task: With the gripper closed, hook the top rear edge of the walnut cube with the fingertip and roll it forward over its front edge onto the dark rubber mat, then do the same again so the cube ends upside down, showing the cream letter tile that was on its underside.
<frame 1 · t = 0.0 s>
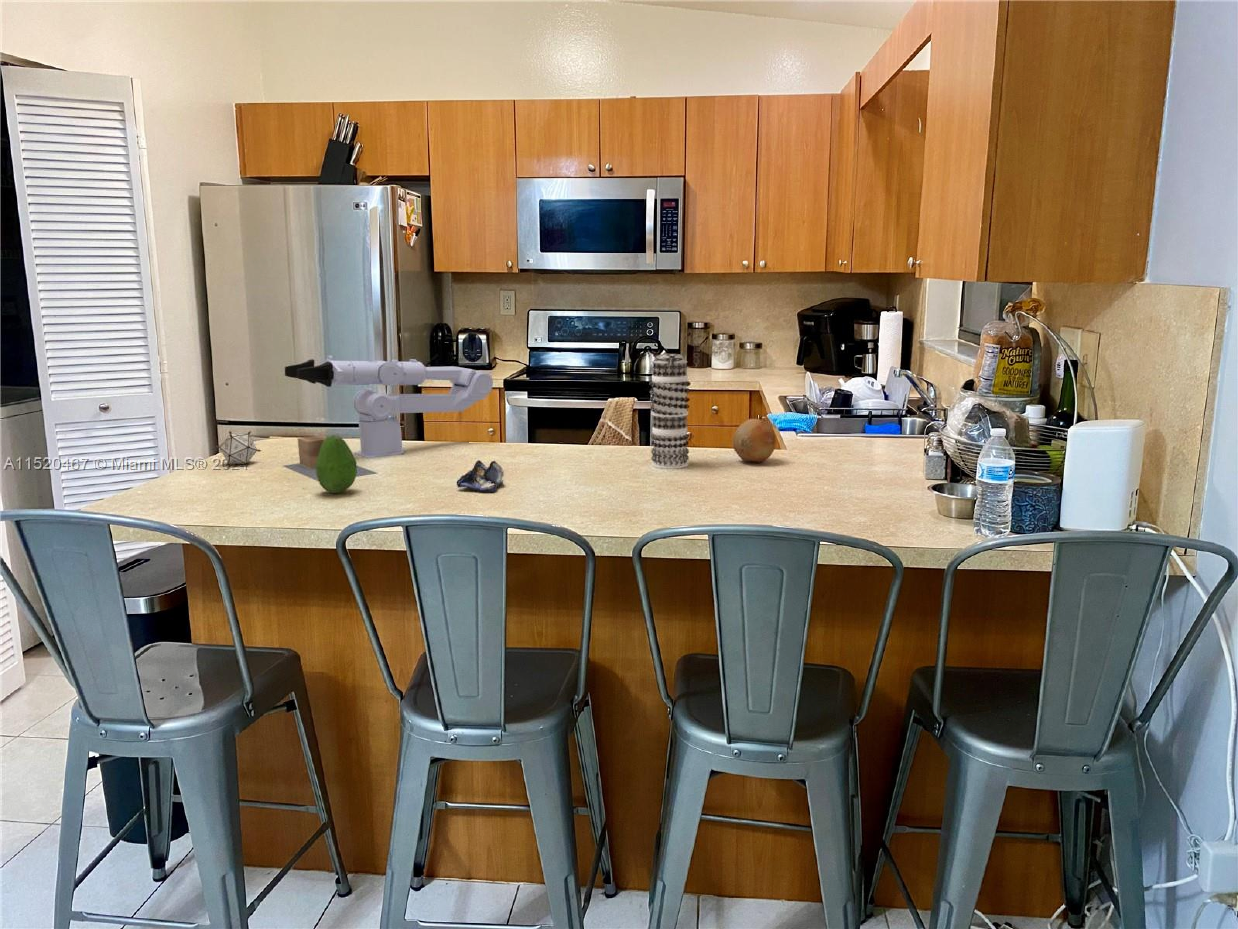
hand: (291, 372, 206), 22 cm above the counter, tool horizontal, fingers open, 7 cm apart
game die: (240, 466, 212), on the counter
letter cube: (317, 464, 210), resting on mat
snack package: (485, 489, 188), on the counter
avocado: (338, 493, 184), on the counter
mat: (329, 470, 205), on the counter
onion: (753, 463, 208), on the counter
decorative candle: (669, 465, 206), on the counter
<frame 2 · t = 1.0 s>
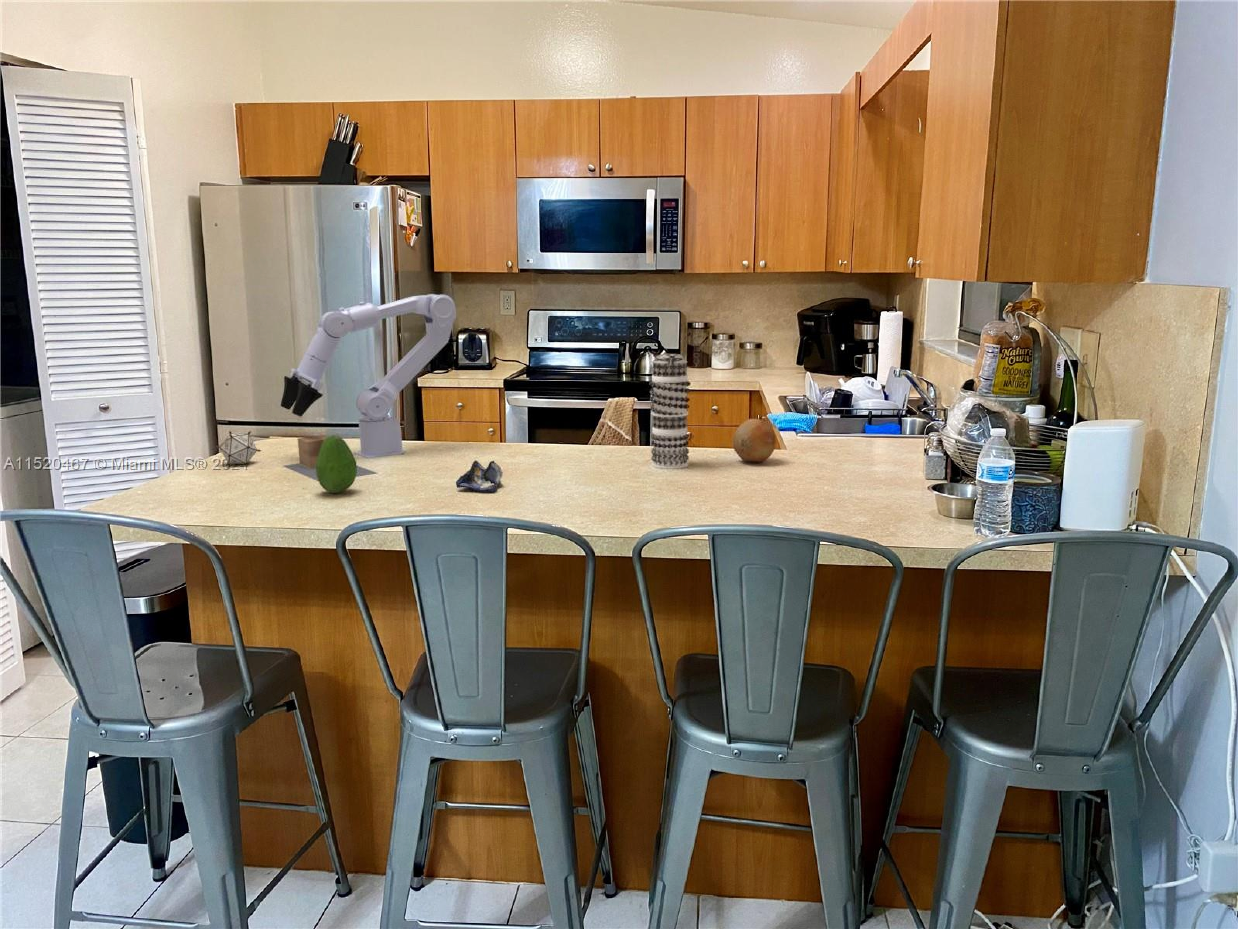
hand: (290, 411, 211), 12 cm above the counter, tool tilted 30°, fingers open, 7 cm apart
nothing on the counter moved.
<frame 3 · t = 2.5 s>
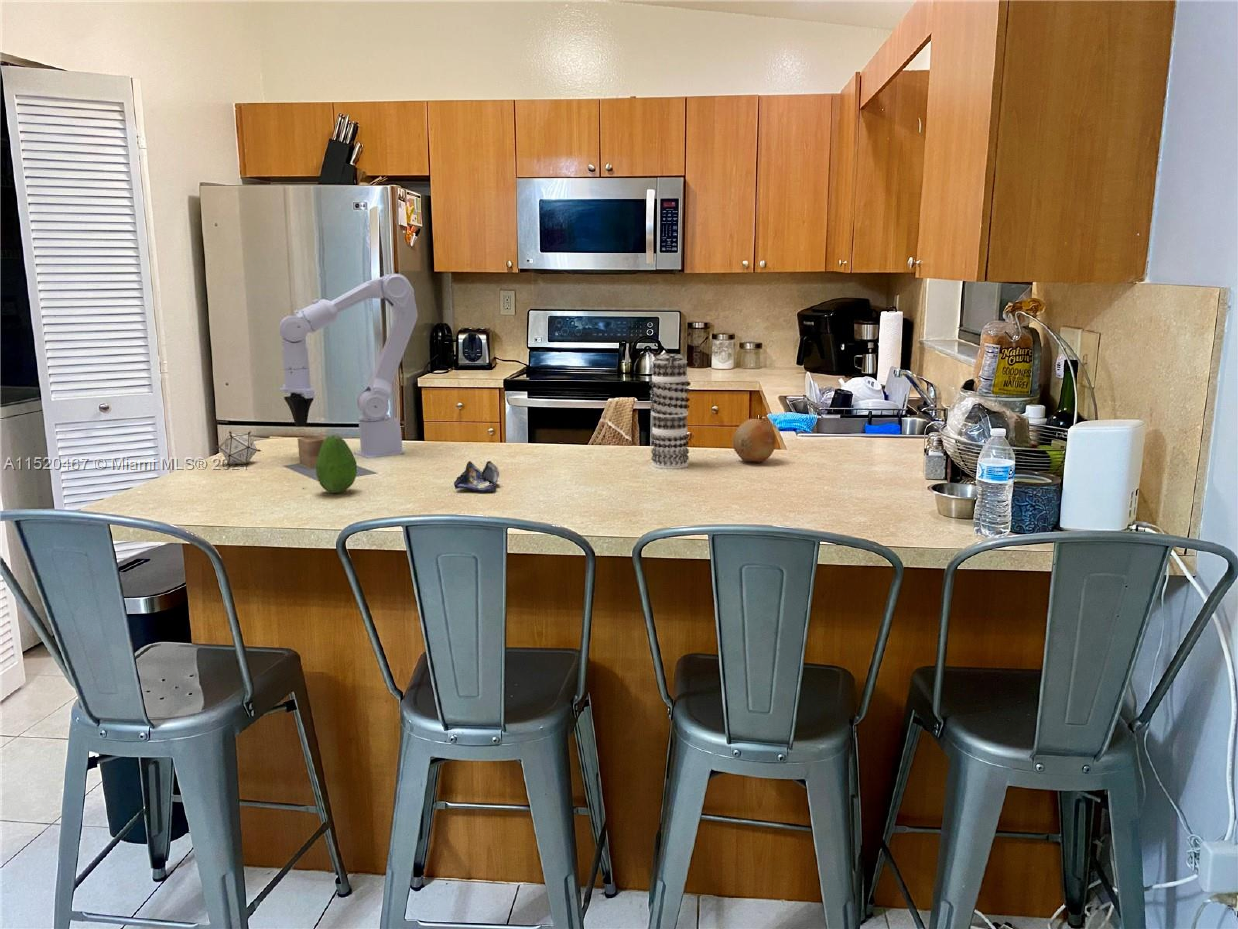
hand: (301, 425, 214), 9 cm above the counter, tool pointing down, fingers closed
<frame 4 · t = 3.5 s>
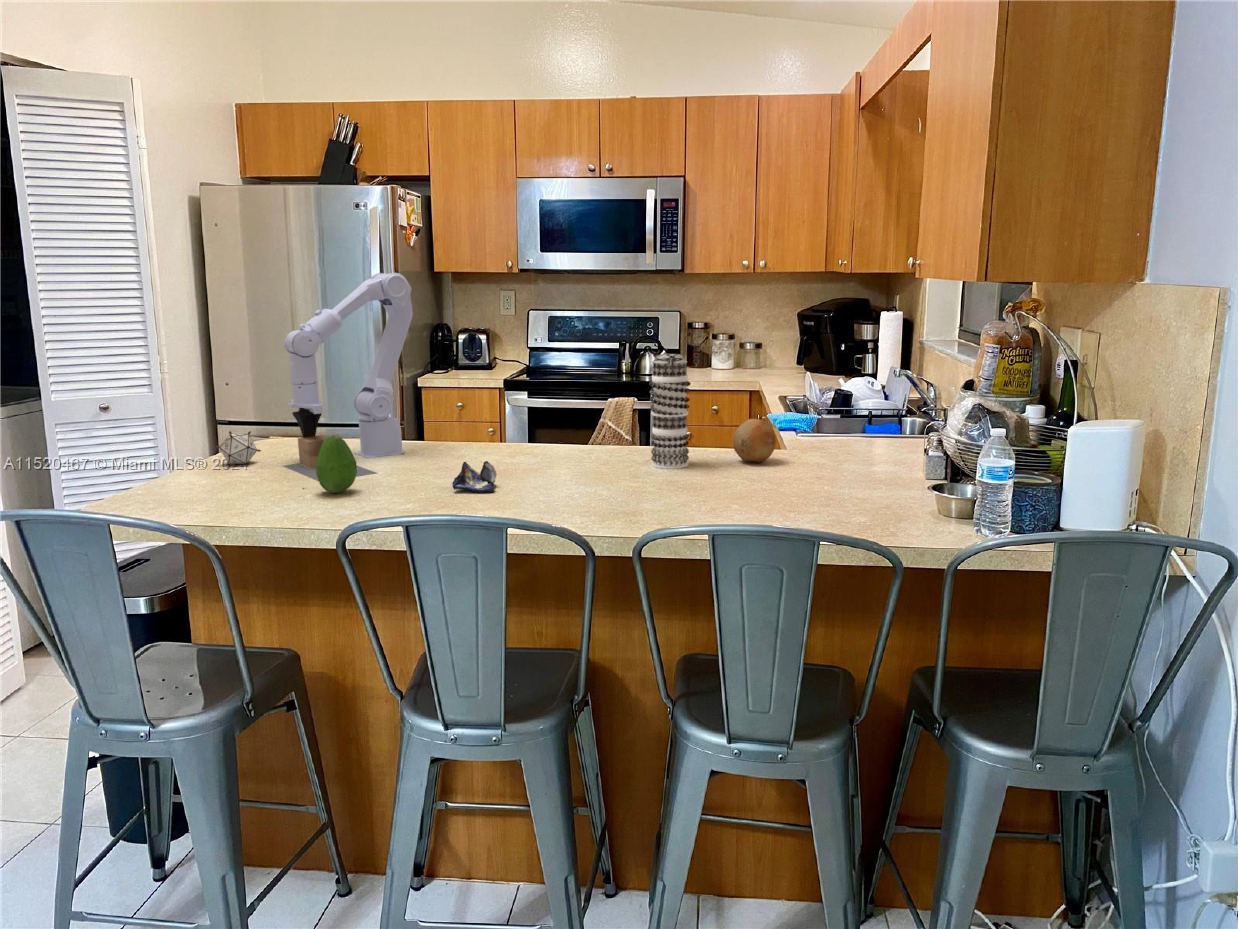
hand: (309, 441, 211), 5 cm above the counter, tool pointing down, fingers closed
letter cube: (317, 464, 210), resting on mat, touching gripper
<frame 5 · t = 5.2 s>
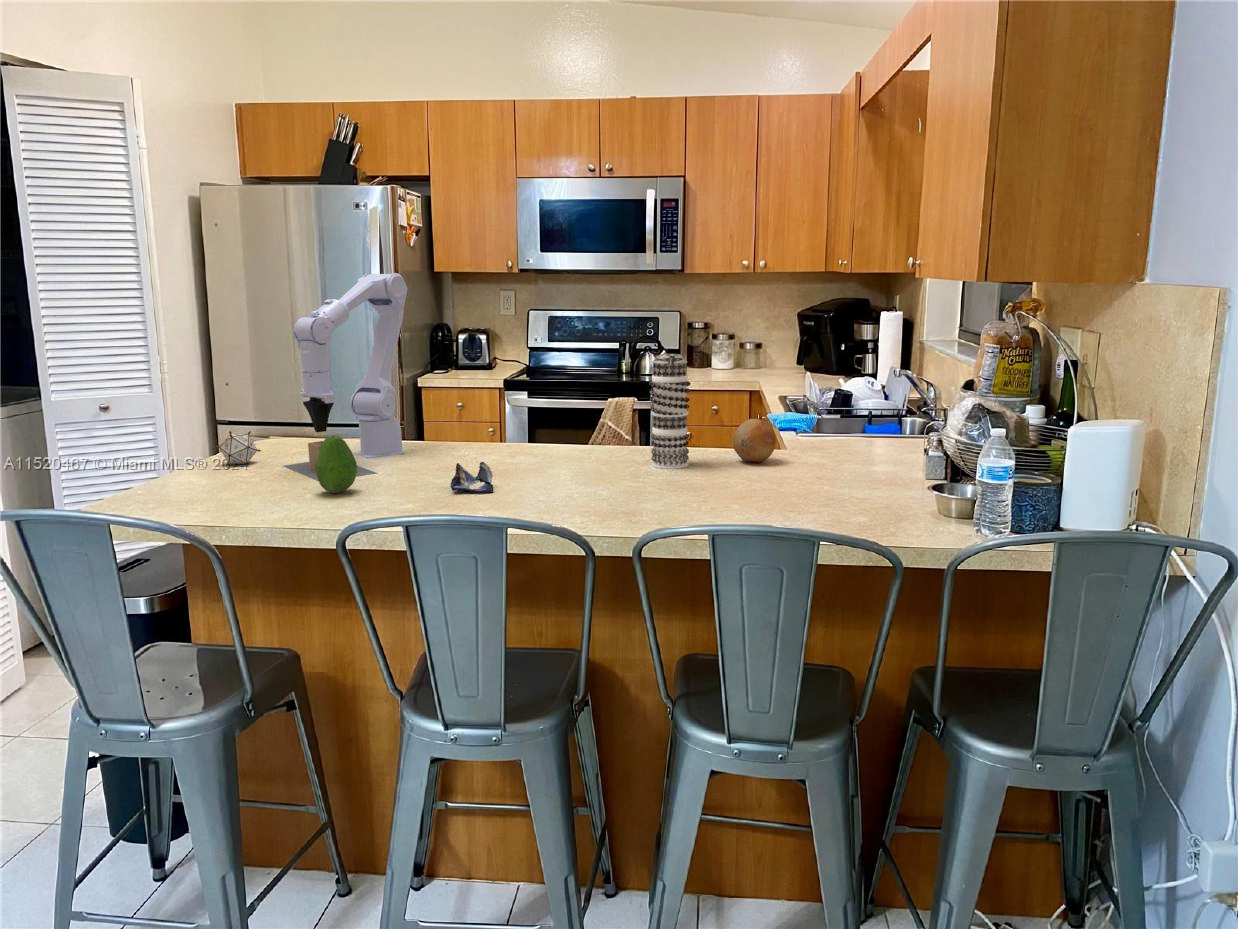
hand: (320, 431, 205), 9 cm above the counter, tool pointing down, fingers closed
letter cube: (321, 454, 207), point 3 cm above the counter, tilted 90°, touching mat
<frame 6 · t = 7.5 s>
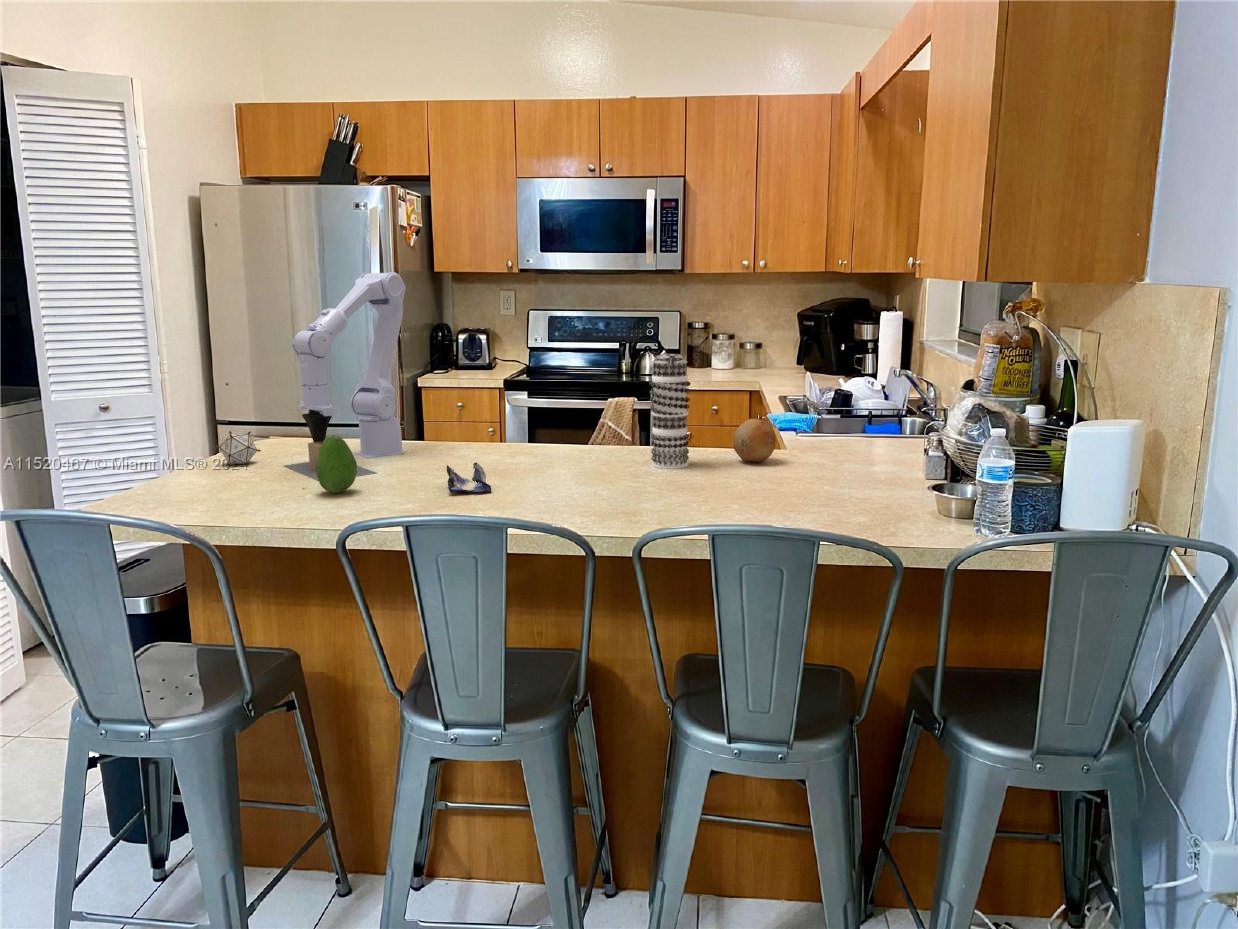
hand: (319, 443, 207), 6 cm above the counter, tool pointing down, fingers closed
letter cube: (321, 454, 207), point 3 cm above the counter, tilted 90°, touching gripper, mat
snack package: (468, 491, 186), on the counter
everything else where it was.
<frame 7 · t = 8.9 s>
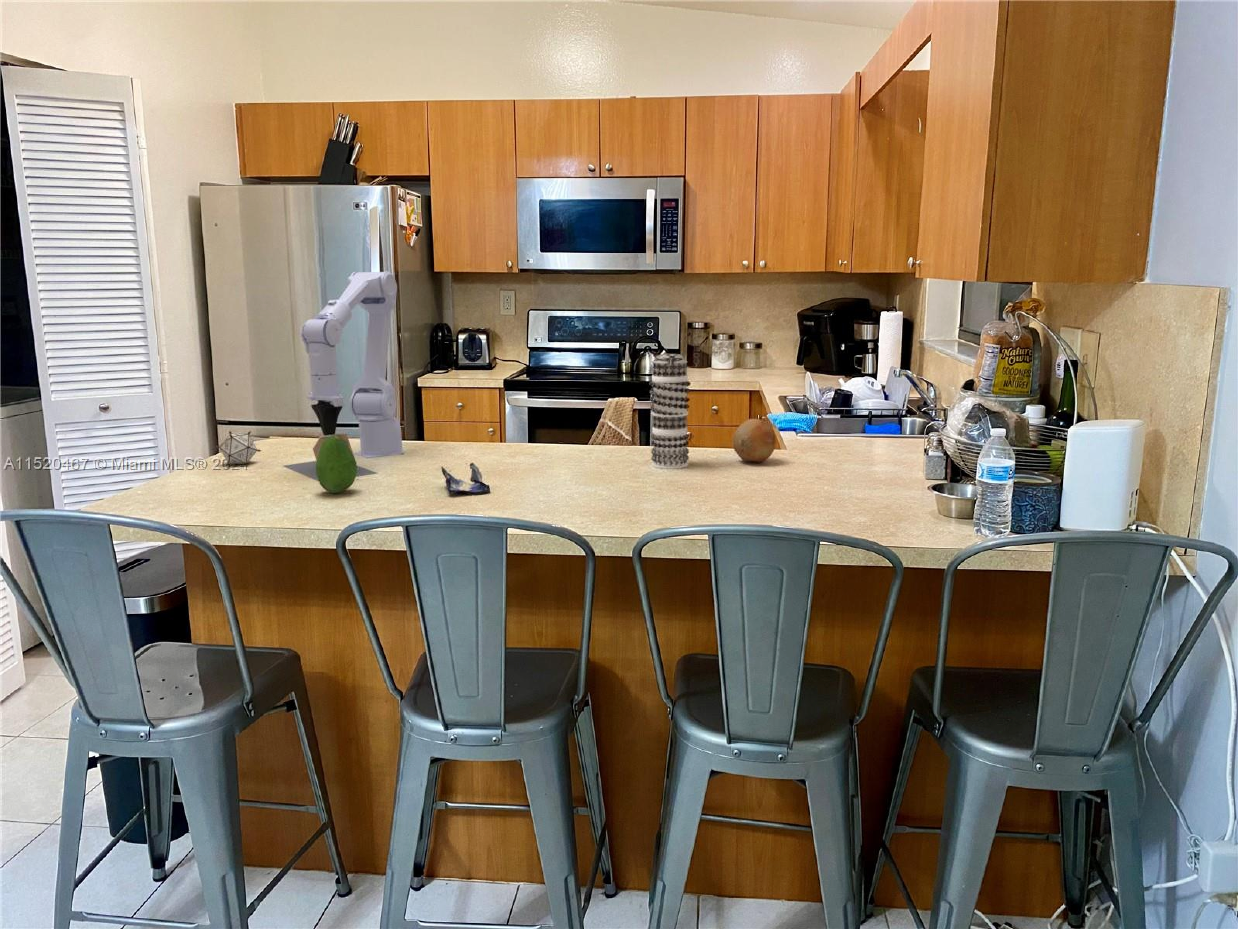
hand: (329, 435, 202), 8 cm above the counter, tool pointing down, fingers closed
letter cube: (329, 440, 202), point 7 cm above the counter, tilted 145°, touching mat
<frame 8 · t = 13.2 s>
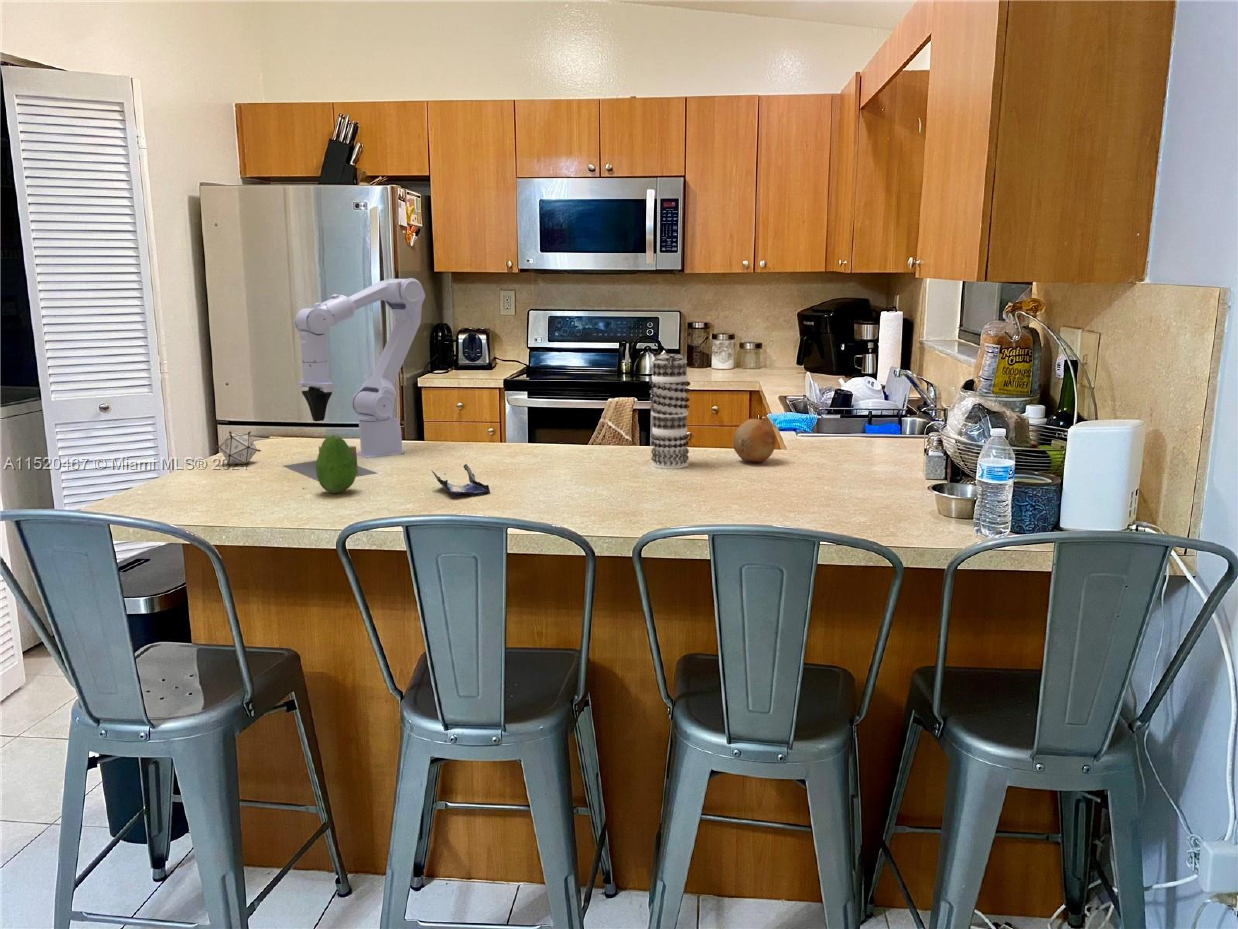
hand: (318, 420, 209), 10 cm above the counter, tool pointing down, fingers closed
letter cube: (337, 446, 199), point 6 cm above the counter, tilted 180°, touching mat
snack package: (461, 494, 184), on the counter
everything else where it was.
at the end: letter cube tilted 180°; letter cube inside the target area (1.8 cm from its centre), point 6.5 cm above the counter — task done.
